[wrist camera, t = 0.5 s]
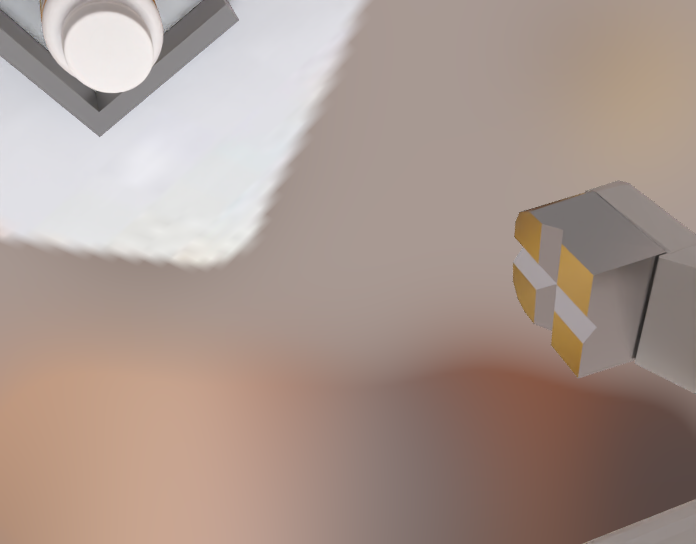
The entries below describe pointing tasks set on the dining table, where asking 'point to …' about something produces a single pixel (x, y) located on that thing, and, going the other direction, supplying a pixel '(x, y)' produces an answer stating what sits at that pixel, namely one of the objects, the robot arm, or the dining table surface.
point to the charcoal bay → (111, 107)
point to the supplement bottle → (103, 40)
